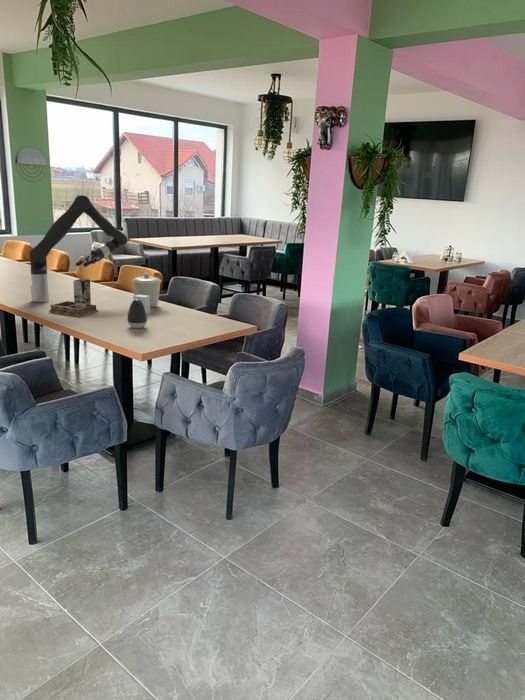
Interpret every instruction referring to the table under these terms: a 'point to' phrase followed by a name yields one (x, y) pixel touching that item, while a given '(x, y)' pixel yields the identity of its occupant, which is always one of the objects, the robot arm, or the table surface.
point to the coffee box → (82, 291)
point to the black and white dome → (137, 315)
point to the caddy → (73, 308)
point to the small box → (144, 301)
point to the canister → (147, 288)
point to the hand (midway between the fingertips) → (80, 265)
